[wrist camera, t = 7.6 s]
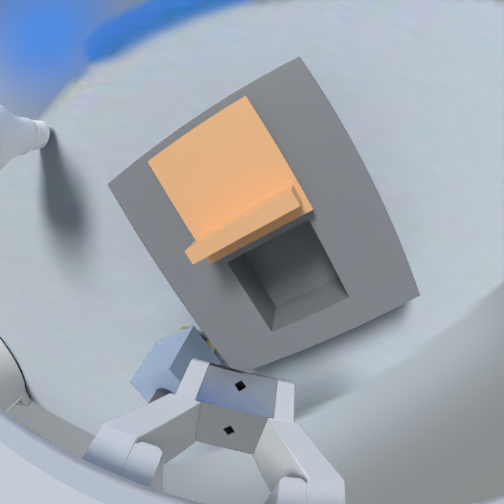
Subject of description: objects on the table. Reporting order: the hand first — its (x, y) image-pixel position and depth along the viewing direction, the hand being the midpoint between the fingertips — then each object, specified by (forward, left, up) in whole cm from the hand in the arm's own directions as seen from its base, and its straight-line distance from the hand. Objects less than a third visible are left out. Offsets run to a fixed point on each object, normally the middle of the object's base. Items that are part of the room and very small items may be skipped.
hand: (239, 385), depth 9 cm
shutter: (0, +5, -10) cm, 12 cm away
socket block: (0, +1, -15) cm, 15 cm away
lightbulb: (-13, +18, -15) cm, 27 cm away
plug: (-11, -5, -15) cm, 19 cm away
